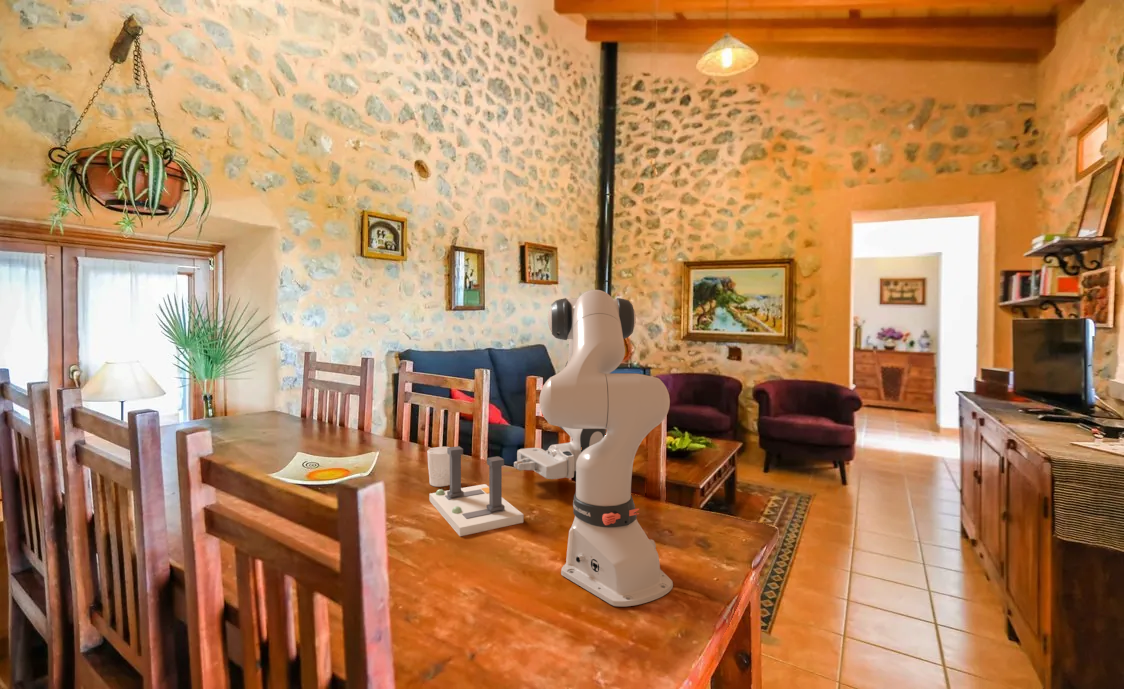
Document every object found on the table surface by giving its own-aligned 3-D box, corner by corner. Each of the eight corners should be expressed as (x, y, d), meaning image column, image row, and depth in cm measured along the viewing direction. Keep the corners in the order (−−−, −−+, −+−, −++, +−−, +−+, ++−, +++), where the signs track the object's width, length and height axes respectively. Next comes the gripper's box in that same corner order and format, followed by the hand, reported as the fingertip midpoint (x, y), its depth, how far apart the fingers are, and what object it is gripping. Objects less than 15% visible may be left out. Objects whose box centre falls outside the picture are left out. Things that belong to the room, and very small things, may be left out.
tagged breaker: (464, 495, 136) (463, 448, 135) (450, 497, 134) (450, 450, 133) (460, 491, 138) (459, 446, 138) (446, 494, 137) (446, 447, 136)
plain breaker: (504, 509, 126) (504, 459, 125) (491, 512, 125) (491, 461, 124) (499, 505, 129) (499, 456, 128) (486, 507, 127) (486, 458, 126)
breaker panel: (523, 522, 125) (523, 509, 124) (459, 536, 117) (459, 522, 116) (485, 490, 146) (485, 479, 146) (429, 500, 138) (429, 489, 138)
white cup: (451, 487, 149) (451, 453, 148) (424, 487, 149) (423, 453, 148) (457, 479, 156) (457, 446, 156) (431, 478, 157) (431, 446, 156)
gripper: (542, 440, 160) (501, 446, 153) (576, 457, 143) (532, 464, 136) (542, 460, 161) (501, 467, 154) (576, 479, 143) (532, 487, 136)
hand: (516, 466), depth 145 cm, fingers closed
